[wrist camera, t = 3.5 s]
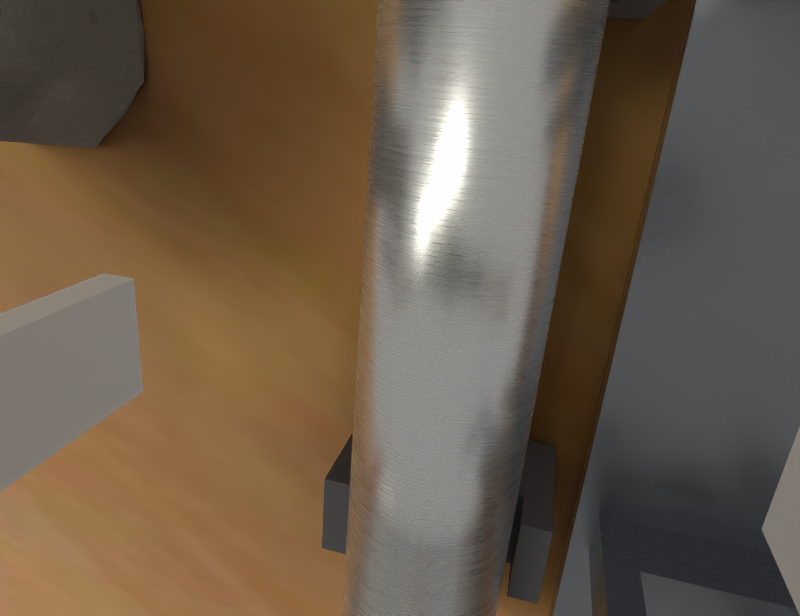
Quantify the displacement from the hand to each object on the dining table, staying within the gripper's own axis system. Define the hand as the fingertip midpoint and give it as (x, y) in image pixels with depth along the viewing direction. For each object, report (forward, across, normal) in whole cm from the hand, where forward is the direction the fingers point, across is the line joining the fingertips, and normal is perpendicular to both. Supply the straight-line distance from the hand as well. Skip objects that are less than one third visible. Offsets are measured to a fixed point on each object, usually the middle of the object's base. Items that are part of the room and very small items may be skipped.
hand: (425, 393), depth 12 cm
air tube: (+7, 0, 0) cm, 7 cm away
